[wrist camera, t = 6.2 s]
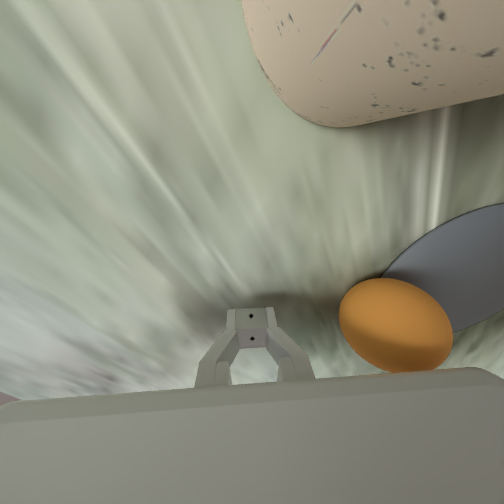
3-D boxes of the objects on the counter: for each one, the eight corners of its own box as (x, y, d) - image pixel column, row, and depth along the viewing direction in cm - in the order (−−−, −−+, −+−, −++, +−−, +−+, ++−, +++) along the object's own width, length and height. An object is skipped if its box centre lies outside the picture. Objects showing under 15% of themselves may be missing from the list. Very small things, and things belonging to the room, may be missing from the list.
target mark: (409, 205, 10) (412, 206, 10) (613, 198, 11) (619, 199, 11) (351, 342, 17) (352, 344, 17) (480, 333, 17) (483, 335, 17)
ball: (487, 294, 9) (374, 255, 13) (462, 350, 7) (329, 279, 11) (439, 360, 12) (356, 310, 16) (406, 421, 9) (316, 341, 13)
